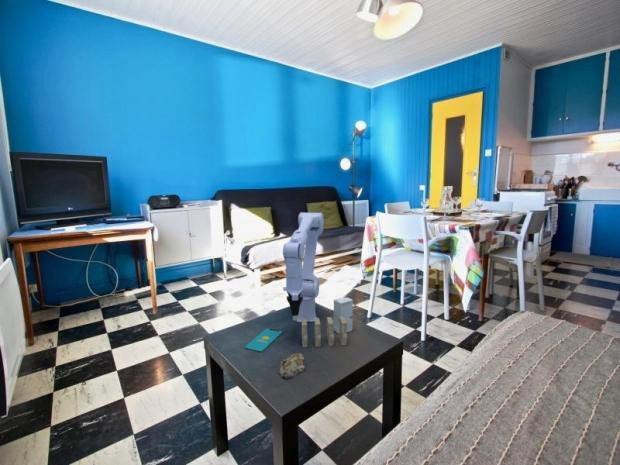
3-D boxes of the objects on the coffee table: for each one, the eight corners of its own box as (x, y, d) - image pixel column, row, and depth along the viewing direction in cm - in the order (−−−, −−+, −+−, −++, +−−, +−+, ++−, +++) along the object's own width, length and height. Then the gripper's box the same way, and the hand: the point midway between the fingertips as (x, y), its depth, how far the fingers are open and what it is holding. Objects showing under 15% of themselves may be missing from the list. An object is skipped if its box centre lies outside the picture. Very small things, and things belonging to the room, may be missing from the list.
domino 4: (329, 345, 104) (328, 323, 103) (327, 338, 109) (327, 317, 108) (333, 345, 104) (333, 323, 103) (331, 338, 109) (331, 317, 108)
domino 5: (342, 345, 105) (342, 323, 103) (339, 337, 109) (339, 316, 108) (346, 344, 105) (346, 322, 103) (343, 337, 110) (344, 316, 108)
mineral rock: (285, 350, 98) (307, 348, 95) (289, 363, 98) (311, 361, 95) (269, 370, 88) (294, 369, 85) (274, 384, 88) (298, 383, 85)
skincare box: (340, 335, 111) (340, 303, 110) (332, 330, 115) (332, 299, 113) (353, 330, 115) (353, 299, 113) (345, 325, 119) (345, 296, 117)
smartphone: (243, 347, 103) (266, 327, 117) (243, 349, 103) (266, 329, 117) (261, 351, 100) (283, 331, 114) (262, 354, 100) (283, 333, 114)
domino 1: (292, 320, 108) (292, 299, 107) (292, 314, 113) (292, 293, 112) (297, 320, 108) (297, 298, 107) (297, 314, 113) (296, 293, 112)
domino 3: (315, 346, 104) (315, 324, 103) (314, 339, 109) (314, 317, 108) (320, 346, 104) (320, 324, 103) (318, 338, 109) (318, 317, 108)
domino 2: (302, 347, 104) (302, 325, 102) (301, 339, 108) (301, 318, 107) (307, 346, 104) (307, 324, 102) (306, 339, 109) (306, 318, 107)
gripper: (283, 270, 115) (283, 304, 117) (282, 282, 101) (283, 321, 103) (301, 269, 115) (302, 303, 118) (304, 281, 101) (304, 320, 103)
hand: (294, 312), depth 110 cm, fingers closed on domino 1, 5 cm apart
